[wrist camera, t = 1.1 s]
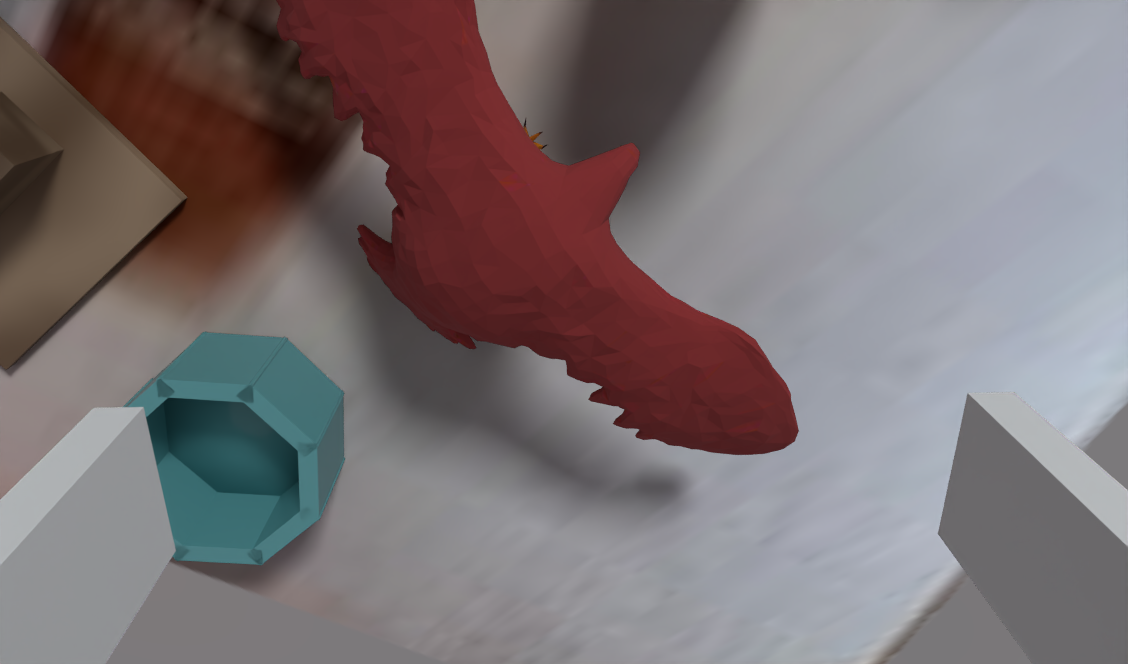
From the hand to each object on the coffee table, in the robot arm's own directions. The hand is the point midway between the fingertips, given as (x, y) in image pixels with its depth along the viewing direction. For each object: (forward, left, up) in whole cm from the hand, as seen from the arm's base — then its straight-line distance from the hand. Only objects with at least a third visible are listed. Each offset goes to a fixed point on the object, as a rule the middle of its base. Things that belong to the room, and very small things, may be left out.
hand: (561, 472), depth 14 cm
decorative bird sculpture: (0, -2, -24) cm, 24 cm away
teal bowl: (0, -18, -24) cm, 30 cm away
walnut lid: (-15, -18, -25) cm, 34 cm away
